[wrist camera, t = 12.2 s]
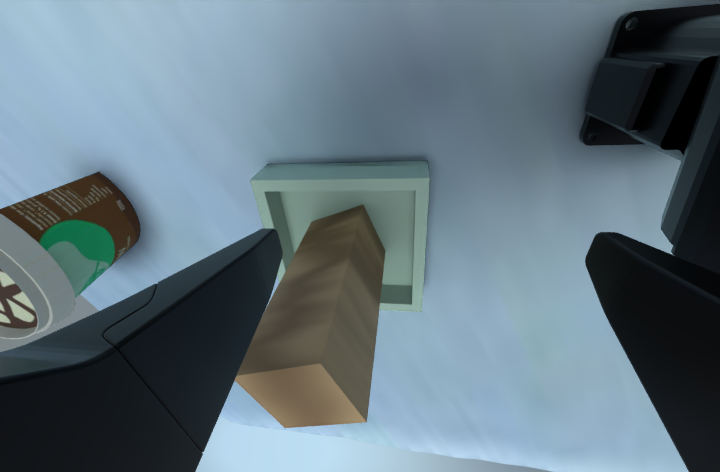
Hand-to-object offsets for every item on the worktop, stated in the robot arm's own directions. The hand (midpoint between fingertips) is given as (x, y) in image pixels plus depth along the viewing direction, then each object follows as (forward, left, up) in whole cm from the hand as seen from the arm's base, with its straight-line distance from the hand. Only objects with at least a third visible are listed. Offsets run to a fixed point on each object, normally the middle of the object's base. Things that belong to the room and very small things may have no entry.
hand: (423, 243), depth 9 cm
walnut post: (+5, +8, -12) cm, 15 cm away
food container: (+27, +8, -13) cm, 31 cm away
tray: (+5, +8, -13) cm, 16 cm away
